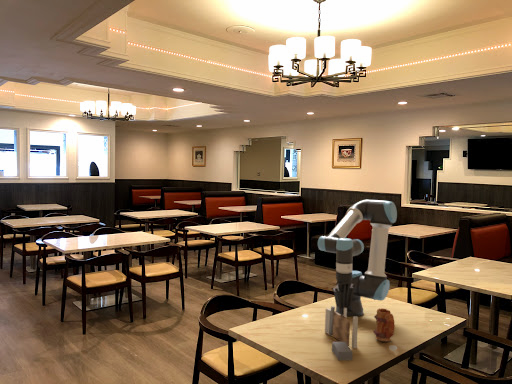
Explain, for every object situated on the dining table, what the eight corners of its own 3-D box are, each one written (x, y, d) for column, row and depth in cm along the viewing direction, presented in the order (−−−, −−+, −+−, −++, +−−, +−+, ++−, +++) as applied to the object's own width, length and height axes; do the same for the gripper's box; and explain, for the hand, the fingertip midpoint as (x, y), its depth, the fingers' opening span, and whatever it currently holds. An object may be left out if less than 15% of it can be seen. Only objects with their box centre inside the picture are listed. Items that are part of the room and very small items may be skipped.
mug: (370, 335, 202) (372, 305, 201) (387, 335, 203) (388, 305, 202) (382, 349, 188) (383, 316, 187) (399, 348, 188) (401, 316, 187)
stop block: (331, 350, 185) (332, 341, 185) (344, 350, 186) (345, 341, 186) (338, 361, 175) (338, 351, 175) (352, 360, 176) (352, 351, 176)
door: (332, 335, 200) (333, 311, 199) (337, 335, 201) (338, 311, 200) (346, 346, 189) (347, 320, 188) (351, 345, 190) (352, 319, 189)
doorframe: (324, 332, 205) (325, 304, 204) (327, 331, 206) (328, 304, 205) (353, 348, 188) (355, 317, 187) (356, 347, 189) (358, 317, 188)
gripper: (339, 275, 187) (338, 326, 188) (359, 271, 194) (359, 320, 195) (328, 271, 194) (327, 321, 195) (348, 268, 200) (347, 316, 202)
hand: (343, 320), depth 195 cm, fingers closed
